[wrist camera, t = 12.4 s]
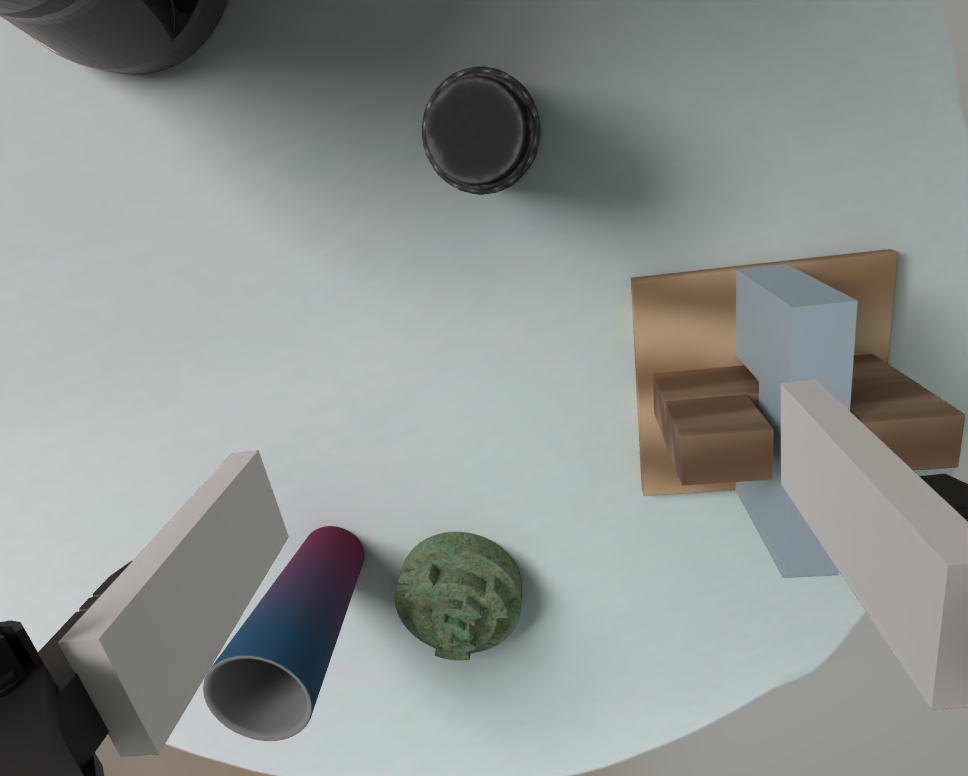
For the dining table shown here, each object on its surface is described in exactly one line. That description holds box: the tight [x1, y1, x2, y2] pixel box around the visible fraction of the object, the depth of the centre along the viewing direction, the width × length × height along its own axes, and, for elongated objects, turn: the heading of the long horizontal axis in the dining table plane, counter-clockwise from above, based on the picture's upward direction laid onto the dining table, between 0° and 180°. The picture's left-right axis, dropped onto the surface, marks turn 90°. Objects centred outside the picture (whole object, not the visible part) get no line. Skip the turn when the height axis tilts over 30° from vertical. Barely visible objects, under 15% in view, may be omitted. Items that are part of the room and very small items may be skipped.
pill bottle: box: [422, 67, 541, 195], centre depth 35 cm, size 6×6×11 cm
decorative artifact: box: [395, 532, 522, 660], centre depth 49 cm, size 10×7×10 cm
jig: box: [631, 249, 965, 496], centre depth 39 cm, size 16×16×11 cm
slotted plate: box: [736, 264, 858, 578], centre depth 38 cm, size 16×3×10 cm, turn 8°
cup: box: [203, 526, 364, 741], centre depth 46 cm, size 7×7×15 cm
